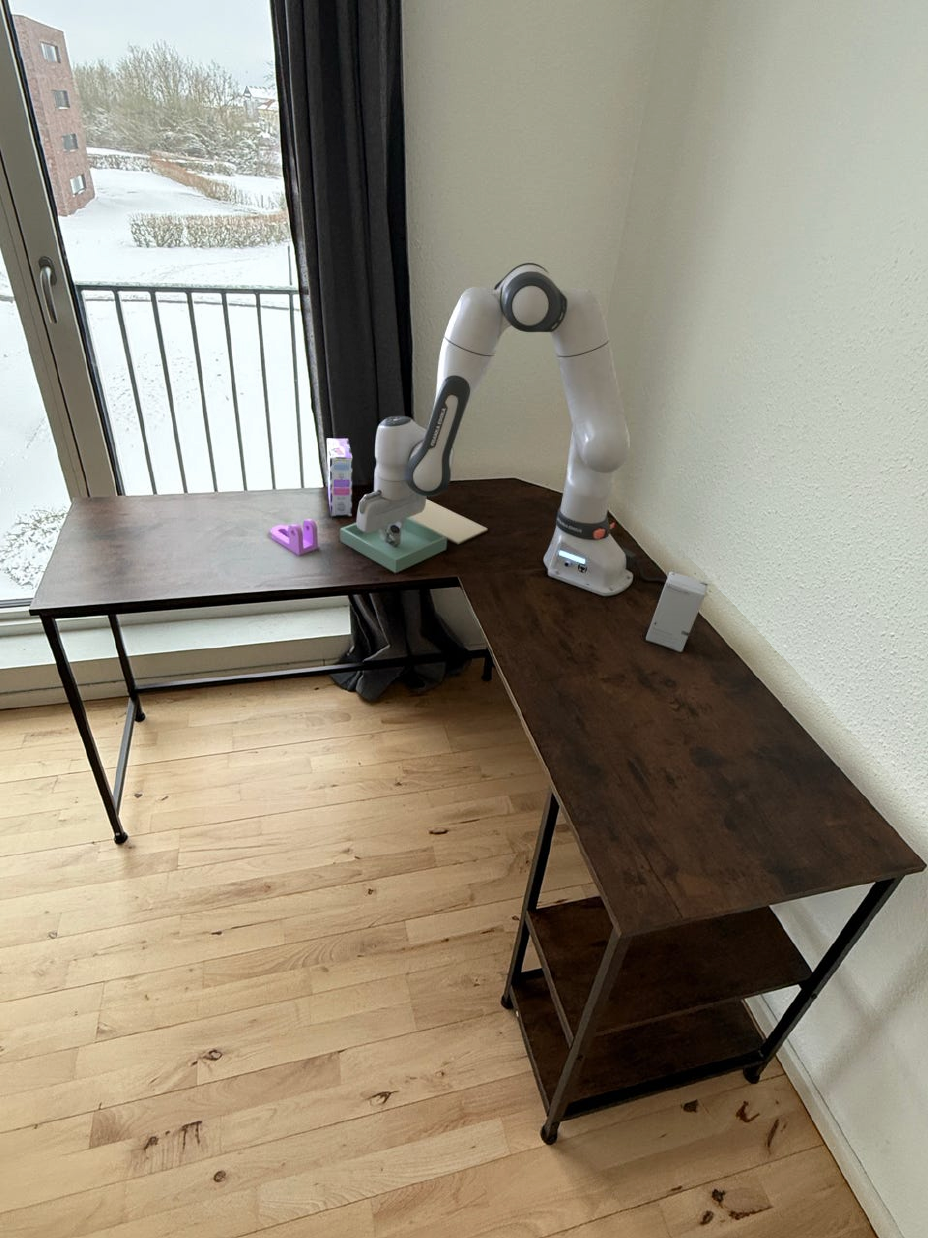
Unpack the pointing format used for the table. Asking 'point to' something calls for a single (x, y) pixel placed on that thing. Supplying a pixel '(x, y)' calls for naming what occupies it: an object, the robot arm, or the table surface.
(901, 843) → the table surface
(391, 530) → the wristwatch
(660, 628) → the cosmetic box
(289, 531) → the bracket
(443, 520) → the mat
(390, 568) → the tray
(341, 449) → the candy box
